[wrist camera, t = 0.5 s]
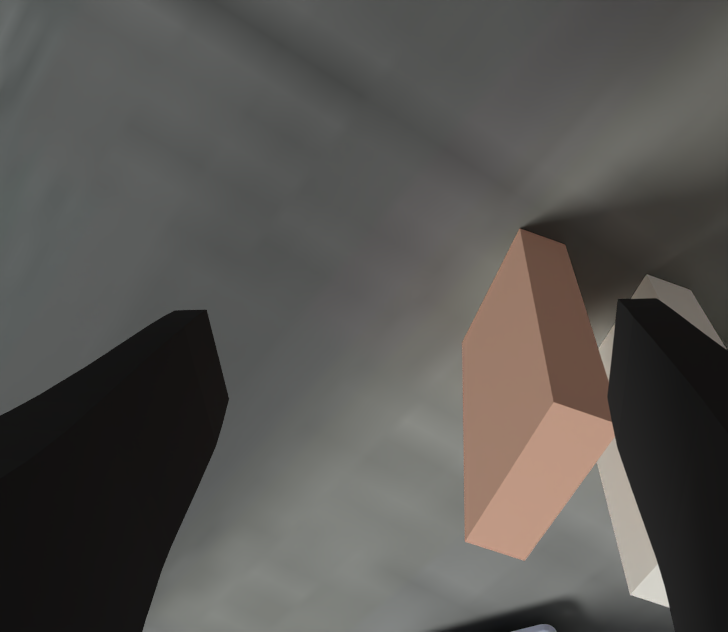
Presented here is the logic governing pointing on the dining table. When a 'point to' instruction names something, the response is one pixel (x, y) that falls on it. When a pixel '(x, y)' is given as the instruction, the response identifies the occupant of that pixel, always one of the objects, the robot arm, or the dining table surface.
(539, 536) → the domino
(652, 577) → the domino
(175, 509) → the robot arm
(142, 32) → the dining table surface
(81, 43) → the dining table surface
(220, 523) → the dining table surface
